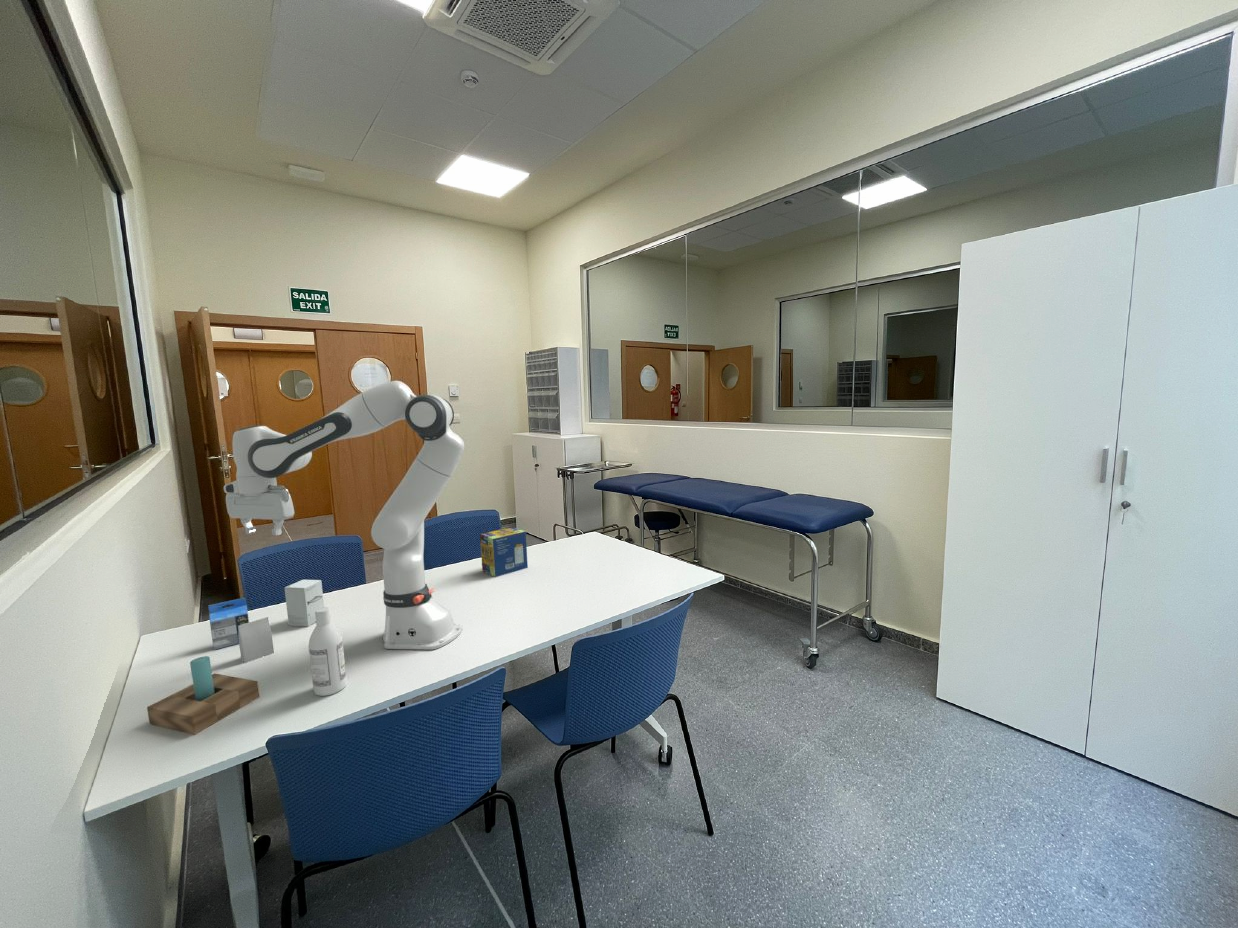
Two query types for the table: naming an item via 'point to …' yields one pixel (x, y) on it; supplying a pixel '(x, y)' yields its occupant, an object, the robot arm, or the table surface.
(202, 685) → the peg
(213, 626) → the label tape box
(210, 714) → the socket block
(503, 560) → the protein box
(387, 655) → the table surface
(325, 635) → the bath foam
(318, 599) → the supplement box
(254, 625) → the white carton
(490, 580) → the table surface
